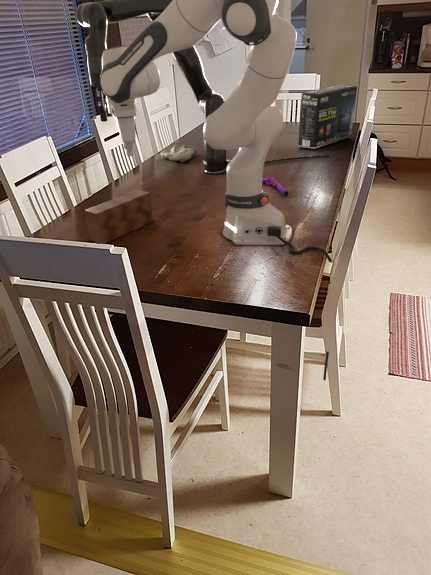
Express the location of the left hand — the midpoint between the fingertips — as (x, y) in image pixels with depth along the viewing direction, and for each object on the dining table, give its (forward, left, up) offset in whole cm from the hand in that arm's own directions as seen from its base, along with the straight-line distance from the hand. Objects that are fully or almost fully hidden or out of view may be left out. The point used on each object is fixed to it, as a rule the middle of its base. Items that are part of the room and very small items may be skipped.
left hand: (107, 118), depth 168 cm
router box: (-121, +14, -30) cm, 126 cm away
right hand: (+10, +28, -5) cm, 30 cm away
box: (+17, +29, -30) cm, 45 cm away
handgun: (-48, +39, -30) cm, 69 cm away
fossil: (-52, -26, -30) cm, 66 cm away
